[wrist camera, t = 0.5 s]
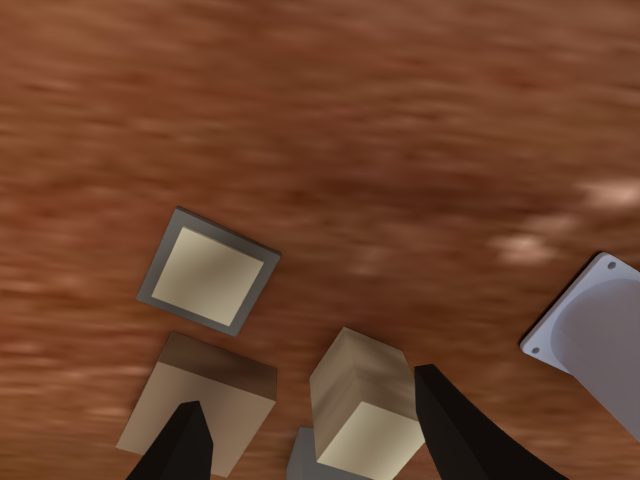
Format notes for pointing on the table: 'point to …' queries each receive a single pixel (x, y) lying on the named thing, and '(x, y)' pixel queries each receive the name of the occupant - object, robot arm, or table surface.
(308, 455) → the slate block
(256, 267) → the swatch tile
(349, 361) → the maple block
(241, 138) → the table surface
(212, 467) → the walnut block
